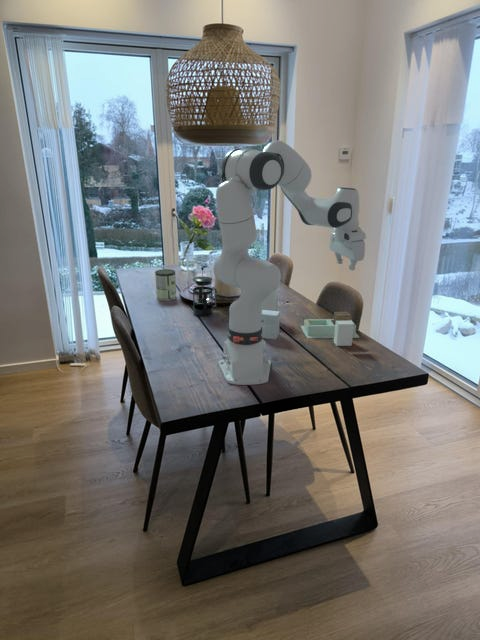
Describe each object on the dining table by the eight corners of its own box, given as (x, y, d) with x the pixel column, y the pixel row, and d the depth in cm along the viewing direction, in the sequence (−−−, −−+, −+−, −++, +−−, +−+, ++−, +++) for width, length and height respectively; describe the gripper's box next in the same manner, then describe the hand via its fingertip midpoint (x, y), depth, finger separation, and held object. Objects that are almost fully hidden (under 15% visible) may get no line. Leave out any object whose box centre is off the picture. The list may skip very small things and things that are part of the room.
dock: (359, 339, 179) (361, 327, 177) (306, 340, 178) (307, 328, 176) (349, 327, 192) (350, 315, 190) (300, 327, 191) (300, 316, 189)
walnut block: (349, 332, 183) (351, 315, 180) (335, 333, 183) (336, 315, 180) (346, 329, 187) (348, 311, 184) (332, 329, 187) (334, 311, 184)
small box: (279, 334, 183) (280, 311, 179) (276, 339, 178) (277, 315, 174) (260, 332, 185) (261, 309, 181) (257, 337, 180) (258, 313, 176)
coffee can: (160, 294, 234) (158, 268, 229) (178, 295, 233) (177, 269, 228) (153, 300, 225) (152, 273, 220) (173, 301, 223) (172, 274, 218)
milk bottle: (275, 324, 194) (277, 281, 187) (258, 323, 195) (259, 279, 189) (277, 318, 201) (279, 276, 194) (260, 317, 203) (262, 275, 196)
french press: (194, 317, 201) (193, 268, 193) (189, 311, 209) (188, 264, 201) (218, 315, 204) (218, 267, 196) (213, 309, 213) (213, 262, 205)
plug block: (351, 347, 171) (353, 324, 168) (336, 348, 171) (338, 324, 167) (348, 343, 175) (350, 320, 172) (333, 344, 175) (335, 320, 171)
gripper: (325, 227, 173) (325, 261, 179) (353, 238, 155) (351, 275, 161) (340, 225, 175) (339, 258, 180) (368, 235, 157) (367, 272, 162)
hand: (345, 266), depth 170 cm, fingers open, 8 cm apart
